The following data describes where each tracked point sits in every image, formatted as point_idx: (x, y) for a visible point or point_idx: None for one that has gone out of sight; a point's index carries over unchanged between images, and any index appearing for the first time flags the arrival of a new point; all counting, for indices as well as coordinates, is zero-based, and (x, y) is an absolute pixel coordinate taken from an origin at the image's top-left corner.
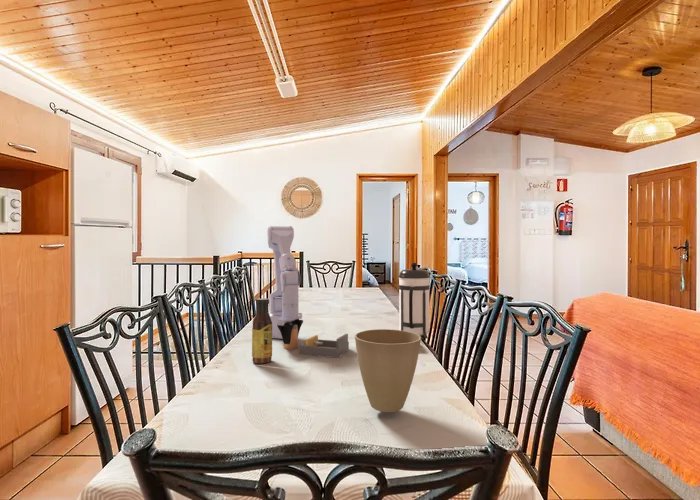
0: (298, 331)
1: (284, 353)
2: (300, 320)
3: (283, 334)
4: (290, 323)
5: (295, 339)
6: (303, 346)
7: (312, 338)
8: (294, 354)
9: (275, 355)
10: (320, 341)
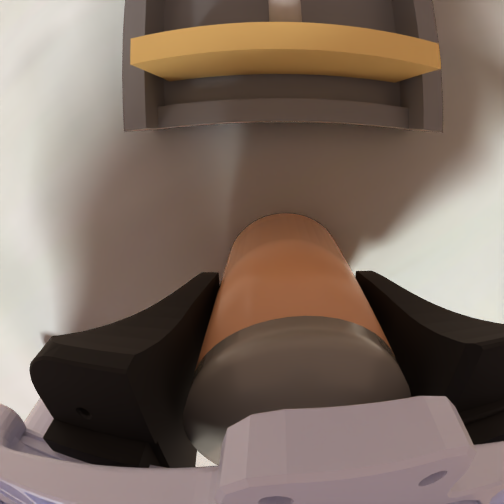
0: (177, 304)
1: (416, 247)
2: (75, 395)
3: None
4: (189, 458)
5: (317, 248)
6: (439, 90)
7: (306, 24)
8: (426, 164)
9: (461, 277)
10: (149, 34)
